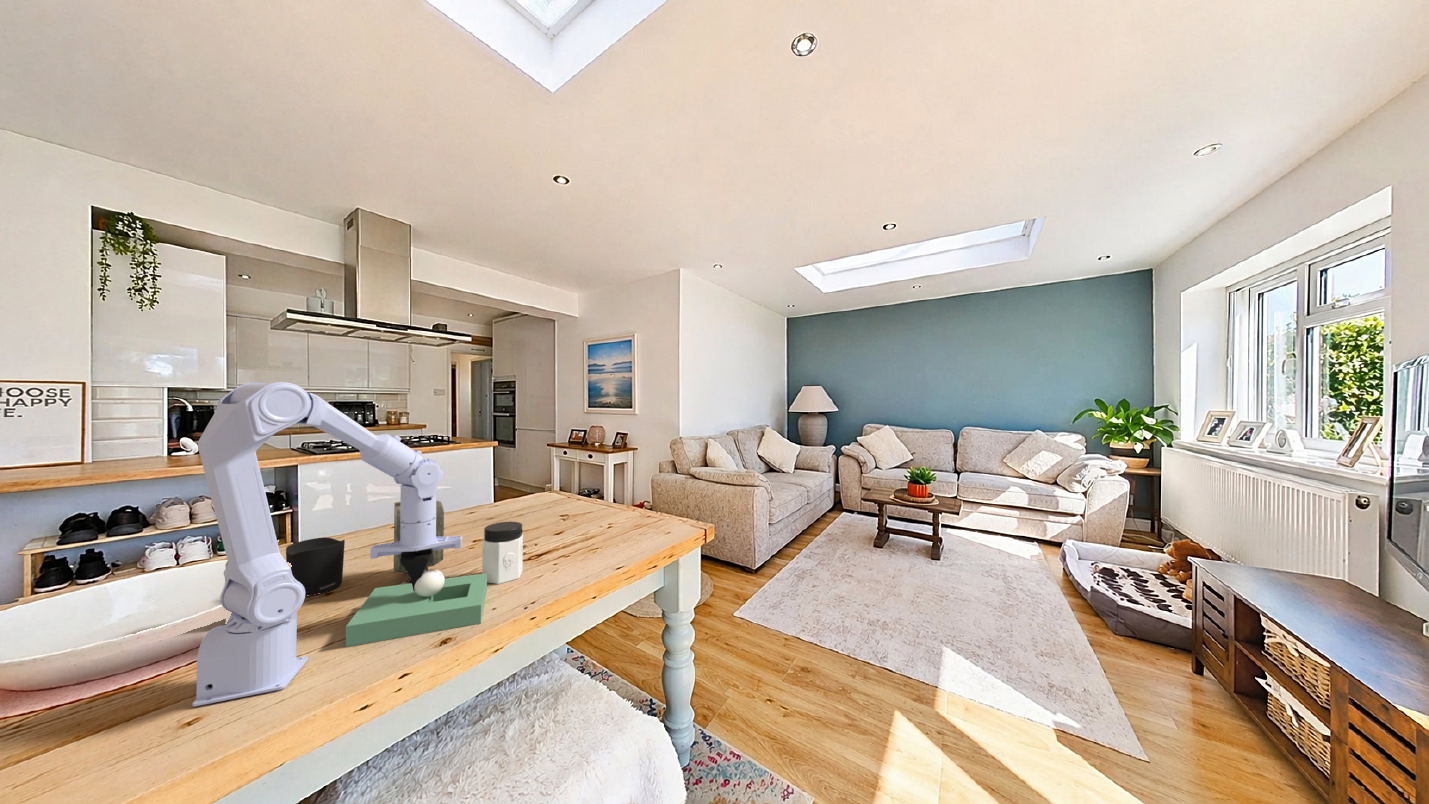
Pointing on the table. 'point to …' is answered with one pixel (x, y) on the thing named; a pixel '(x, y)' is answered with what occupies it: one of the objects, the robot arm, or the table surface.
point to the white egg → (429, 583)
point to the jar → (502, 552)
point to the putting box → (417, 610)
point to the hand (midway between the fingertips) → (418, 588)
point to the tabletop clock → (436, 554)
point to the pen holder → (317, 563)
